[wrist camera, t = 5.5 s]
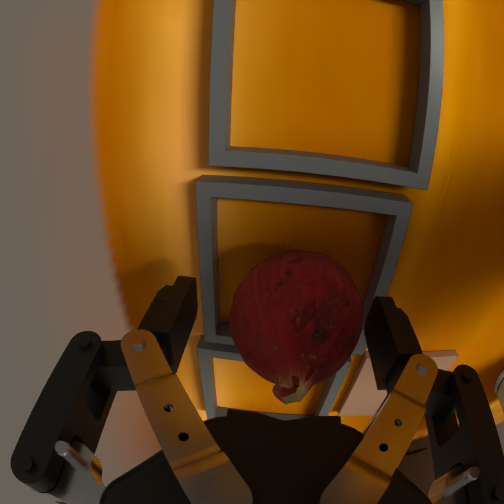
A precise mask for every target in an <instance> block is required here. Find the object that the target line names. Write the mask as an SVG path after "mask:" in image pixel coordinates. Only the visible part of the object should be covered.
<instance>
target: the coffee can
mask: <svg viewBox="0 0 504 504" xmlns="http://www.w3.org/2000/svg"><path fill="white" fill-rule="evenodd" d="M494 391H495V393H496V394H497V397H498V399H499V401H500V404H501V407H502V409H503V412H504V369H503V370H502V372H501V373H500V375H499V377H498V378H497V380H496V383H495V386H494Z"/></svg>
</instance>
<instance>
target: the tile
mask: <svg viewBox="0 0 504 504" xmlns="http://www.w3.org/2000/svg"><path fill="white" fill-rule="evenodd" d="M423 354H424V355H427V356H429V357H430V358H432V359H433V360H434V361H435V363H436V364H437V367H438V369H442V370H446V371H448V370H449V369H450V367H451V366H452V364H453V363H454V361H455V360H456V358H457V357H458V354H457V351H456V350H448V351H424V352H423ZM386 395H387V390H377V386H376V381H375V377H374V372H373V368H372V364H371V359H370V355H369V352H365V354H364V357H363V359H362V361H361V363H360V366H359V368H358V370H357V372H356V374H355V376H354V379H353V381H352V383H351V385H350V387H349V389H348V391H347V393H346V395H345V397H344V399H343V401H342V403H341V405H340V407H339V409H338V416H367V415H374V414H375V413H376V411H377V410H378V408H379V406H380V405H381V403H382V402H383V400H384V398H385V397H386Z"/></svg>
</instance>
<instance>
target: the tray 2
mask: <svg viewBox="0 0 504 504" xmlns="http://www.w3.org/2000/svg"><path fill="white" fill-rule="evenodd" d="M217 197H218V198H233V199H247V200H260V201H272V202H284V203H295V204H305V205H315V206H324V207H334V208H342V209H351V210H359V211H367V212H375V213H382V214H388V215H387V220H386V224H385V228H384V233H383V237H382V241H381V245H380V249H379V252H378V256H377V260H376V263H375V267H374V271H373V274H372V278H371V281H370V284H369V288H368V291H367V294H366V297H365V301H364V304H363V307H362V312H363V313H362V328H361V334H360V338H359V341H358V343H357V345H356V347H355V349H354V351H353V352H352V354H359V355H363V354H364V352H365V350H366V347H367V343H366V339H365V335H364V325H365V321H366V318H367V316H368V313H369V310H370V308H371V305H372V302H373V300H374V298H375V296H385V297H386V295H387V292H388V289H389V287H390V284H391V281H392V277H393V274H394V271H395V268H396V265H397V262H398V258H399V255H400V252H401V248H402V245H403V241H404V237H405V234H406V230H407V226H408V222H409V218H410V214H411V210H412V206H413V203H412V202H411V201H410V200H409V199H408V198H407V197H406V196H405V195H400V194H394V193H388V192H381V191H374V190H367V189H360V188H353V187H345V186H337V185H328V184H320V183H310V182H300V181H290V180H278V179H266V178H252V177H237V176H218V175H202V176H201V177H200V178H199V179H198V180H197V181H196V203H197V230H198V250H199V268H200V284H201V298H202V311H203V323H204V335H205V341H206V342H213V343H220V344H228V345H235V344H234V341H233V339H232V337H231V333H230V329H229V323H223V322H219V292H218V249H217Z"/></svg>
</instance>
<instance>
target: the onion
mask: <svg viewBox="0 0 504 504" xmlns="http://www.w3.org/2000/svg"><path fill="white" fill-rule="evenodd" d="M362 313H363V312H362V301H361V298H360V296H359V294H358V292H357V290H356V288H355V286H354V284H353V282H352V280H351V278H350V276H349V274H348V272H347V270H346V269H345V268H344V267H342V266H341V265H339V264H338V263H336V262H335V261H334V260H332V259H331V258H329V257H328V256H326V255H324V254H321V253H316V252H309V251H302V250H295V251H290V252H286V253H282V254H278V255H273V256H271V257H269V258H268V259H266V260H264V261H263V262H261V263H259V264H258V265H256V266H254V267H253V268H252V269H251V270H250V271H249V273H248V274H247V275H246V277H245V278H244V280H243V281H242V282H241V284H240V285H239V287H238V289H237V290H236V292H235V294H234V297H233V303H232V309H231V315H230V323H229V329H230V333H231V337H232V339H233V341H234V344H235V346H236V348H237V350H238V352H239V354H240V355H241V357H242V359H243V360H244V362H245V363H246V364H247V365H248V366H249V367H250V368H251V369H252V370H253V371H255V372H256V373H257V374H258V375H260V376H261V377H262V378H264V379H265V380H267V381H270V382H272V383H275V384H276V385H274V387H273V390H272V391H273V393H274V395H275V396H276V397H277V398H278V399H279V400H280V401H282V402H283V403H285V404H288V403H292V402H300V401H301V400H302V399H303V397H304V396H305V395H306V394H307V392H308V391H309V390H310V389H311V387H312V386H313V385H314V384H318V383H320V382H323V381H324V380H326V379H327V378H329V377H331V376H332V375H334V374H335V373H336V372H337V371H339V370H340V369H341V368H342V367H343V366H344V364H345V363H346V362H347V360H348V359H349V357H350V356H351V354H352V352H353V351H354V349H355V347H356V345H357V343H358V341H359V338H360V334H361V328H362Z"/></svg>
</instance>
